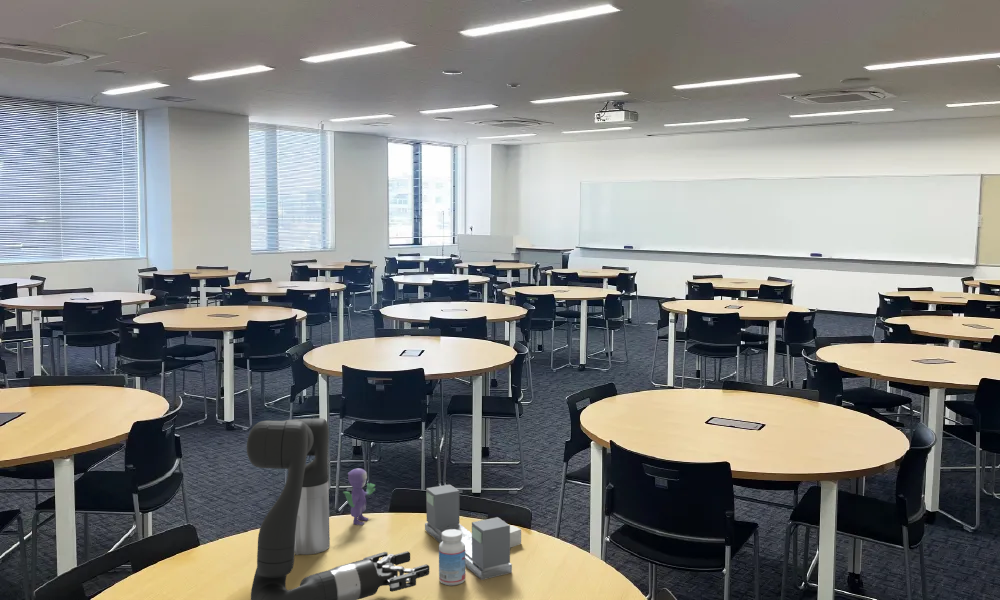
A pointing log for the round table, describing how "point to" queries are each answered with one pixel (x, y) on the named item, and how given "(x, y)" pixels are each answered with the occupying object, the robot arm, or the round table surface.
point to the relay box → (515, 536)
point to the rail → (470, 552)
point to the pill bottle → (452, 558)
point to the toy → (358, 494)
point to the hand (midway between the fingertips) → (418, 562)
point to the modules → (486, 534)
